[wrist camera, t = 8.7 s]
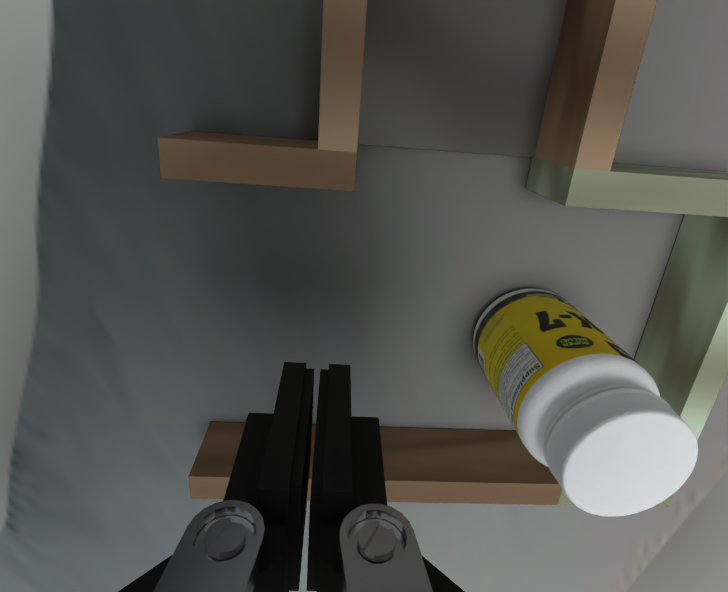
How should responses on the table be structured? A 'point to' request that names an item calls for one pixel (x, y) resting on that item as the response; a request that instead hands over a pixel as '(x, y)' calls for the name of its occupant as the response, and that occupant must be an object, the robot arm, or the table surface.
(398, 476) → the zigzag wooden rail
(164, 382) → the table surface
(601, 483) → the supplement bottle
